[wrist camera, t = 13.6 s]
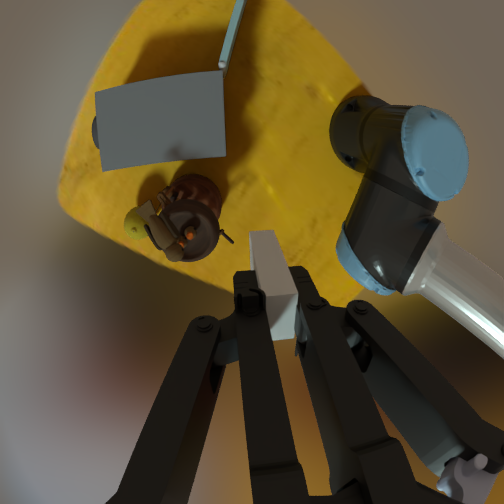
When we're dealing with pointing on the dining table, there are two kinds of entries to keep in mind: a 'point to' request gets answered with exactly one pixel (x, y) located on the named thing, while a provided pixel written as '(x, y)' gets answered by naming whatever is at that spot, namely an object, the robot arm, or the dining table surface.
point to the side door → (231, 36)
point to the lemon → (135, 225)
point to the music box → (185, 219)
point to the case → (160, 120)
